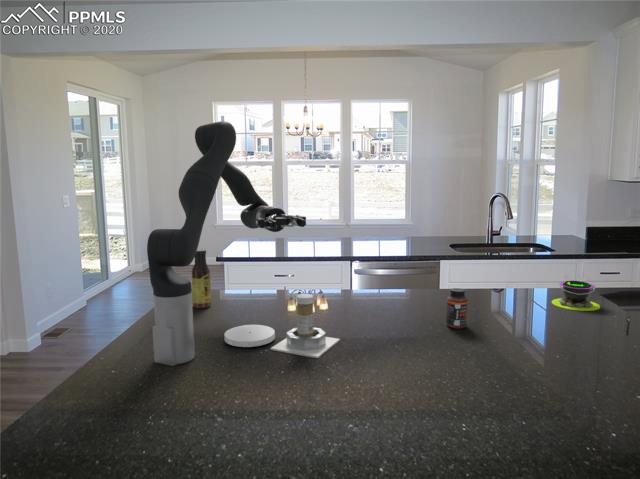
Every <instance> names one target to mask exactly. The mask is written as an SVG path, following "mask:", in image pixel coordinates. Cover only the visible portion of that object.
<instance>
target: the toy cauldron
mask: <svg viewBox="0 0 640 479" xmlns="http://www.w3.org/2000/svg"><path fill="white" fill-rule="evenodd" d="M581 274H582V275H583V276H584V275H585V273H583V272H581ZM582 275H580V274H577V277H580V278H581V277H582ZM567 277H568V275H566V276H564V279H566V280H564V281H559V283H558V285H559V288H560V289H561V290H562V293H563V294H562V295H563V296H564V297H560V298H555V299H552V300H551V303H552V305H554V306H555V307H558V308H561V309H565V310H572V311H581V312H582V311H583V312H585V311H586V312H589V311H597V310H599V309H601V306H600V304H598V303H596V302H593V301H591V300H589V298H590V296H591V293H593V292H594V291H595V290H596V286H595V285H594V284H592V283H589V282H588V281H591V279H590V278H588V280H587V281H586V282H585V281H583V280H582V279H580V280H577V279H572V280H568V278H567ZM585 278H587V276H585ZM592 289H593V290H592Z"/></svg>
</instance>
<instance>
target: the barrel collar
mask: <svg viewBox="0 0 640 479" xmlns="http://www.w3.org/2000/svg"><path fill="white" fill-rule="evenodd" d="M326 334H327V333H326V331H324V330H323V329H322V328H321V327H314V326H313V337H306V338H304V337H298V332H297V327H293V328H292V329H290V330H288V331H287V332H286V338H287V344H288V345H289V347H290V348H292V349H298V350H303V351H306V350H313V349H319V348H321V347H322V346H323V345H324V344H326V337H327V336H326Z"/></svg>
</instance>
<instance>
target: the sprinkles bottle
mask: <svg viewBox="0 0 640 479" xmlns="http://www.w3.org/2000/svg"><path fill="white" fill-rule="evenodd" d="M296 306H297V307H296V309H297V310H296V311H297V312H296V319H297V320H296V326H297V327H296V328H297V332H298V337H304V338H306V337H313V327H314V295H313V294H310V293H301V294H297V295H296Z"/></svg>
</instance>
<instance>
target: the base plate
mask: <svg viewBox="0 0 640 479" xmlns="http://www.w3.org/2000/svg"><path fill="white" fill-rule="evenodd" d="M340 341H341V338H337V337H331V336H330V337H329V336H326V344H324V345H323V346H322V347H321V348H319V349H313V350H306V351H303V350H298V349H292V348H290V347H289V345H288V344H287V337H285V338H284V339H283V340H281V341H279V342H278V343H276V344H275V345H273V346H272V347H270V350H271V351H275V352H280V353H285V354H286V353H287V354H292V355H297V356H303V357H307V358H314V359H320V358H321V357H322V356H323V355H325V353H327V352H328V351H329V350H331V348H333V347H334V346H335V345H337V344H338V343H339V342H340Z"/></svg>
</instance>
